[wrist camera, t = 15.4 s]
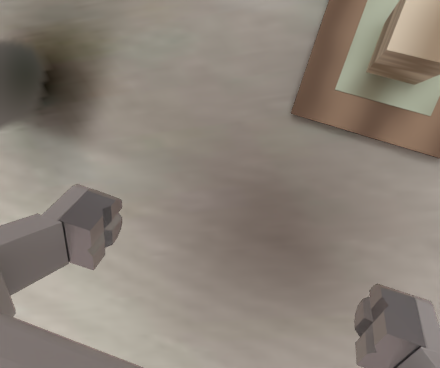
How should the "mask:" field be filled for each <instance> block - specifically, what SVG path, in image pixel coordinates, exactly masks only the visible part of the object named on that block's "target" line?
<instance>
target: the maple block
mask: <svg viewBox="0 0 440 368" xmlns="http://www.w3.org/2000/svg"><path fill="white" fill-rule="evenodd" d="M366 72H367V73H371V74H375V75H379V76H383V77H387V78H390V79H394V80H398V81H402V82H406V83H410V84H413V85H416V84H418V83H420V82H423V81H425V80H428V79H430V78H433V77H435V76H438V75H440V0H399V2H398V3H397V5H396V6H395V8H394V9H393V11H392V12H391V14H390V15H389V17H388V18H387V20H386V21H385V23H384V26H383V28H382V31H381V33H380V36H379V39H378V41H377V44H376V47H375V49H374V52H373V54H372V57H371V60H370V62H369V65H368V68H367V70H366Z"/></svg>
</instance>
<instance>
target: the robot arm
mask: <svg viewBox="0 0 440 368" xmlns="http://www.w3.org/2000/svg"><path fill="white" fill-rule="evenodd" d="M121 209H122V200H121V199H119V198H117V197H114V196H111V195H108V194H105V193H103V192H100V191H97V190H94V189H91V188H88V187H85V186H82V185H80V184H76V185H73V186H72V187H71V188H70V189H69V190H68V191H67V192H66V193H64V194H63V195H62V196H61V197H60V198H59V199H58V200H57V201H56V202H55V203H54V204H53V205H52V206H51V207H50V208H49V209H47V210H46V211H45V212H44V213H43V214H42V215H40V214H35V215H32V216H29V217H26V218H22V219H19V220H16V221H13V222H10V223H7V224H4V225H1V226H0V368H143V367H141V366H138V365H136V364H133V363H131V362H128V361H125V360H123V359H120V358H118V357H115V356H112V355H110V354H107V353H105V352H102V351H99V350H97V349H94V348H92V347H89V346H86V345H84V344H81V343H79V342H76V341H73V340H71V339H68V338H66V337H63V336H60V335H58V334H55V333H53V332H50V331H48V330H45V329H42V328H40V327H37V326H35V325H32V324H29V323H27V322H24V321H22V320H19V319H16V318H14V317H13V316H14V315H15V314H16V312H15V307H14V304H13V302H12V299H11V295H12V294H14V293H16V292H18V291H20V290H22V289H23V288H25V287H27V286H29V285H31V284H33V283H34V282H36V281H38V280H40V279H42V278H43V277H45V276H47V275H49V274H51V273H53V272H54V271H56V270H58V269H60V268H62V267H64V266H65V265H67V264H69V262H70V263H73V264H76V265H79V266H82V267H85V268H88V269H91V270H94V269H95V268H96V267H97V265H98V264H99V263H100V261H101V260H102V258H103V257H104V256H105V248H106V247H108V246H110V245H112V244H113V243H114V242H115V240H116V239H117V237H118V235H119V233H120V230H121V227H122V217H121V215H120V214H119V211H120V210H121ZM369 292H370V297H367V298H364V299H362V301H361V302H360V303H359V305H358V307H357V310H356V313H355V320H354V323H355V330H356V332H357V333H358V335H359V336H360V338H359V339H358V340H357V341H356V343H355V345H356V363H357V365H359V366H361V367H364V368H440V328H439V324H438V320H437V317H436V313H435V309H434V306H433V304H432V303H431V301H429V300H426V299H423V298H420V297H417V296H414V295H410V294H408V293H405V292H402V291H398V290H395V289H392V288H389V287H386V286H383V285H380V284H376V285H373V287H372V288H371V289H370V290H369Z"/></svg>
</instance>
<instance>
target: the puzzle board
mask: <svg viewBox="0 0 440 368" xmlns="http://www.w3.org/2000/svg"><path fill="white" fill-rule="evenodd" d="M398 2H399V0H329V2H328V5H327V8H326V11H325V14H324V17H323V20H322V22H321V25H320V28H319V31H318V34H317V37H316V40H315V43H314V46H313V49H312V52H311V55H310V58H309V61H308V64H307V67H306V70H305V73H304V76H303V79H302V82H301V85H300V87H299V90H298V93H297V96H296V99H295V102H294V105H293V108H292V111H291V114H294V115H297V116H300V117H304V118H307V119H310V120H314V121H317V122H320V123H324V124H327V125H330V126H334V127H337V128H340V129H344V130H347V131H350V132H354V133H357V134H360V135H364V136H367V137H370V138H374V139H377V140H380V141H384V142H387V143H390V144H394V145H397V146H400V147H404V148H407V149H410V150H414V151H417V152H420V153H424V154H427V155H430V156H433V157H437V158H440V75H438V76H435V77H433V78H430V79H428V80H425V81H423V82H420V83H418V84H416V85H413V84H410V83H406V82H402V81H398V80H394V79H390V78H387V77H383V76H379V75H375V74H371V73H367V72H366V70H367V68H368V65H369V62H370V60H371V57H372V54H373V52H374V49H375V47H376V44H377V41H378V39H379V36H380V33H381V31H382V28H383V26H384V23H385V21H386V20H387V18H388V17H389V15H390V14H391V12H392V11H393V9H394V8H395V6H396V5H397V3H398Z"/></svg>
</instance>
